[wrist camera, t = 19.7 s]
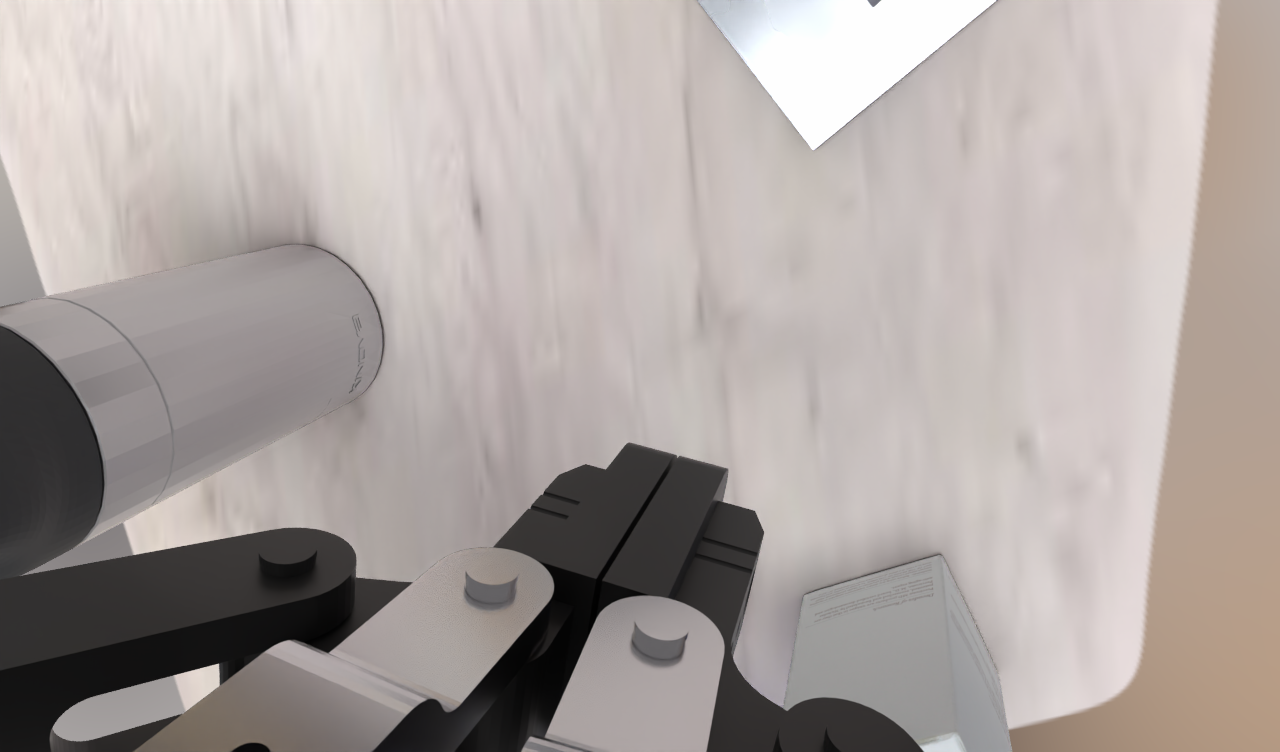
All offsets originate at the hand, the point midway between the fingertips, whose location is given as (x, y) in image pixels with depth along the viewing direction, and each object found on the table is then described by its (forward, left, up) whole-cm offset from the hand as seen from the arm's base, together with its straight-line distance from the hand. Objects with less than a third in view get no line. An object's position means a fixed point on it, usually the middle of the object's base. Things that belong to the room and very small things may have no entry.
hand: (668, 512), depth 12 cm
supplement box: (+8, -18, -27) cm, 34 cm away
